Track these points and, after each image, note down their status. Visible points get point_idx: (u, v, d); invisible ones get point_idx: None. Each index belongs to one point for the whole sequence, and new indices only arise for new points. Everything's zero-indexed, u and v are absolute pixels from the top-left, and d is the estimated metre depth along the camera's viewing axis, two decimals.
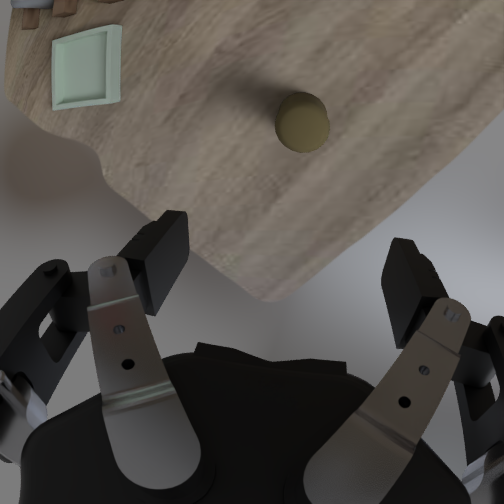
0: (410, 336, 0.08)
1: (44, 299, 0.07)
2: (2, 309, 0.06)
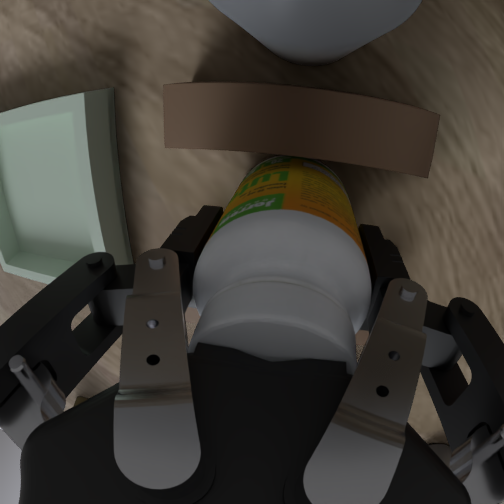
0: (370, 317, 0.09)
1: (82, 292, 0.07)
2: (37, 295, 0.07)
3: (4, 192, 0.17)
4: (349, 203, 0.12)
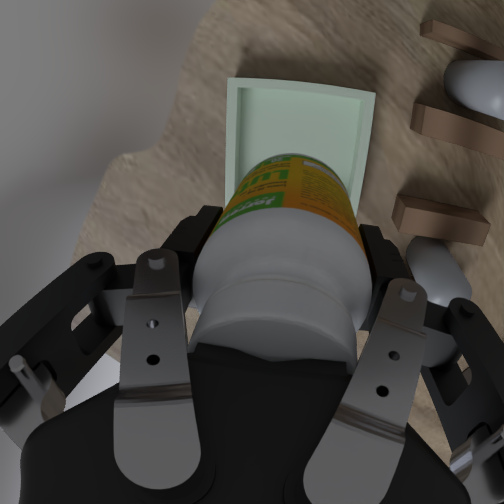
0: (370, 317, 0.09)
1: (82, 292, 0.07)
2: (37, 295, 0.07)
3: (240, 142, 0.26)
4: (349, 202, 0.12)
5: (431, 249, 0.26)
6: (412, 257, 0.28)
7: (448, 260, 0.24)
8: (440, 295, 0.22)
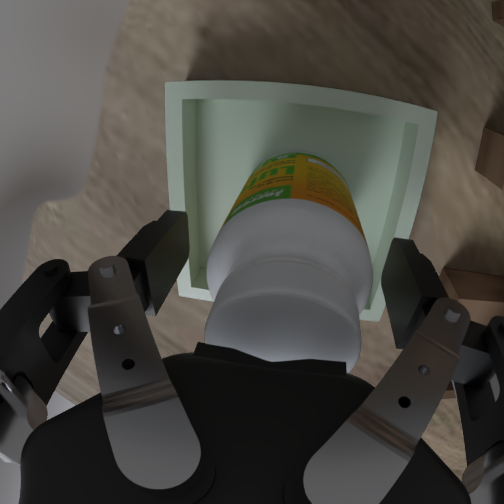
0: (410, 336, 0.08)
1: (44, 299, 0.07)
2: (2, 309, 0.06)
3: (199, 190, 0.16)
4: (351, 196, 0.12)
5: None
6: None
7: None
8: None
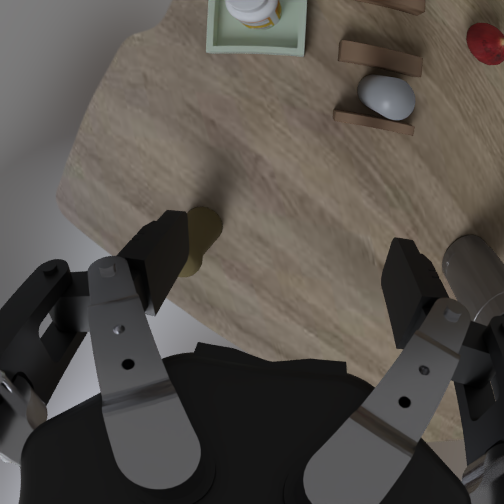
0: (410, 336, 0.08)
1: (44, 299, 0.07)
2: (2, 309, 0.06)
3: (219, 12, 0.30)
4: None
5: (369, 78, 0.29)
6: (361, 93, 0.31)
7: (382, 76, 0.27)
8: (384, 96, 0.26)
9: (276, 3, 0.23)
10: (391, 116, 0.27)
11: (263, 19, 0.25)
